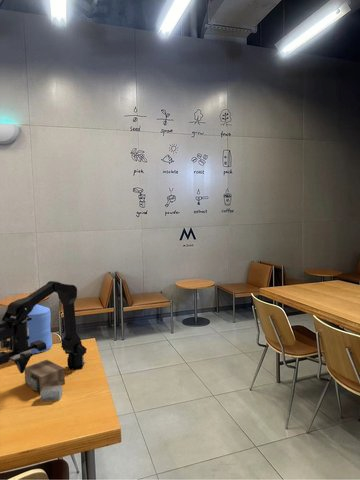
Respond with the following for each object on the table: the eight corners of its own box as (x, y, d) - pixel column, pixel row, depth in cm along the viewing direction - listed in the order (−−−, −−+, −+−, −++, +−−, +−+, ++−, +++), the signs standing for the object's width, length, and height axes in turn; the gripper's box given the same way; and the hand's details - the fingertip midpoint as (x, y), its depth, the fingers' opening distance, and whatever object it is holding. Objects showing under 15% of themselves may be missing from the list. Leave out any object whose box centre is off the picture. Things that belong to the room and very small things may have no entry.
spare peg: (62, 395, 131) (61, 385, 131) (59, 400, 127) (59, 390, 127) (44, 396, 131) (43, 386, 130) (40, 402, 127) (40, 392, 126)
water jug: (41, 355, 170) (38, 301, 168) (14, 353, 173) (10, 301, 171) (58, 343, 185) (55, 294, 183) (33, 342, 188) (30, 294, 186)
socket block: (47, 374, 148) (46, 359, 148) (64, 383, 140) (64, 367, 139) (25, 383, 141) (24, 368, 140) (42, 394, 132) (41, 377, 131)
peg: (47, 380, 141) (46, 371, 141) (52, 383, 138) (51, 374, 138) (31, 387, 135) (30, 378, 135) (36, 390, 133) (35, 380, 133)
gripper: (32, 324, 141) (34, 359, 142) (-15, 336, 127) (-13, 376, 128) (46, 329, 134) (48, 366, 135) (-3, 343, 120) (0, 384, 121)
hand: (21, 372), depth 130 cm, fingers closed
